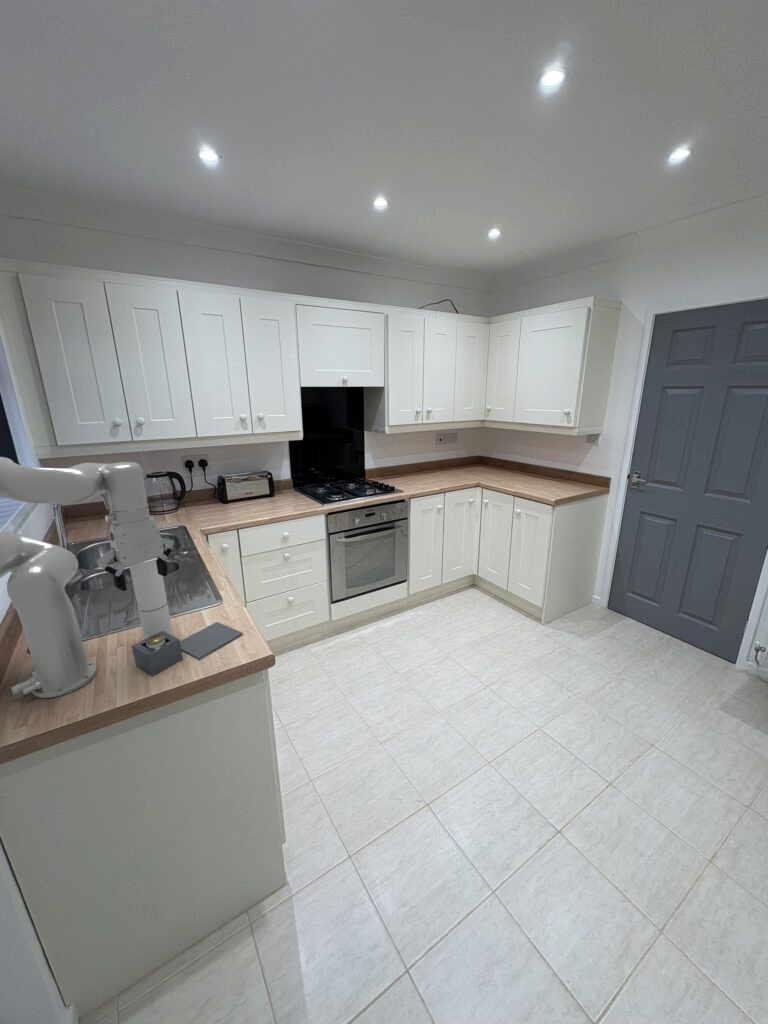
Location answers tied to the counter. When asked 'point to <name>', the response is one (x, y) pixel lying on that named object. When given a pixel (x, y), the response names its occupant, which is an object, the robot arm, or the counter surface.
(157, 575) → the cylindrical container
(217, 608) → the counter surface
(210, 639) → the rubber mat
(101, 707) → the counter surface
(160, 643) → the plunger
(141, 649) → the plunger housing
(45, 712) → the counter surface
